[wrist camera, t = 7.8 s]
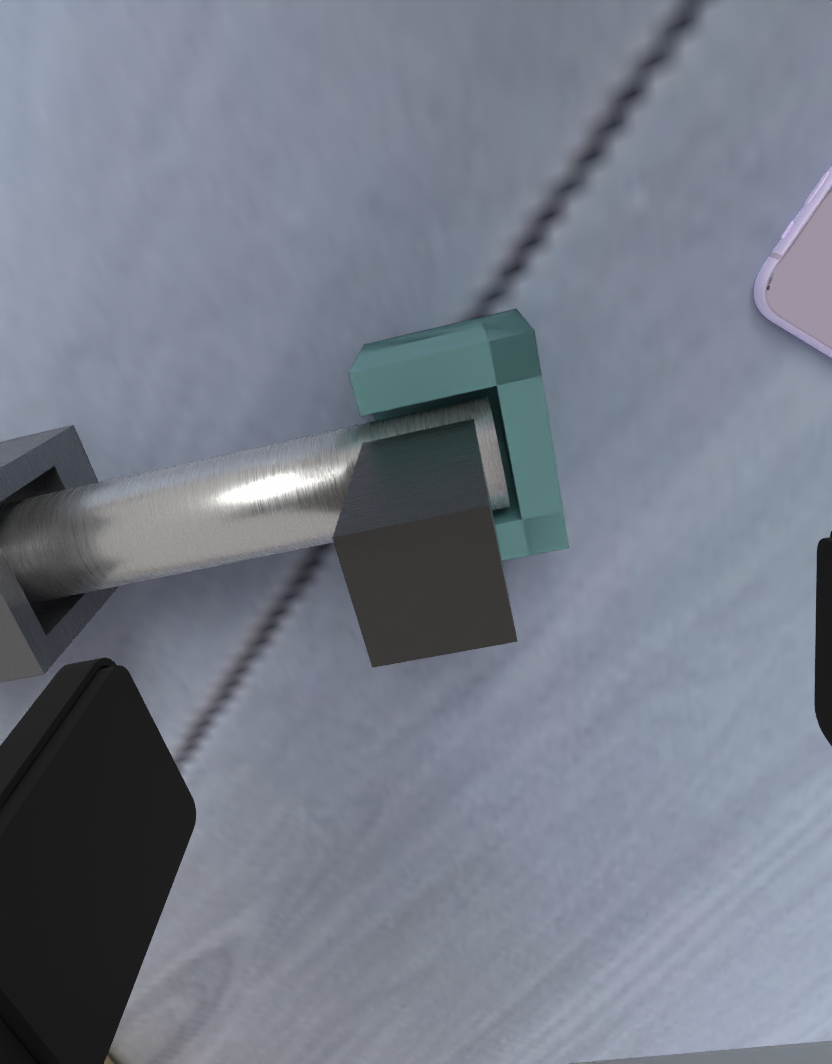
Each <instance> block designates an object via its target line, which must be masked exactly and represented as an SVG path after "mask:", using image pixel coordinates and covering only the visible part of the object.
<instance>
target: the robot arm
mask: <svg viewBox="0 0 832 1064" xmlns="http://www.w3.org/2000/svg"><path fill="white" fill-rule="evenodd" d="M815 713H816V717H817V720H818V723H819V726H820V728H821V730H822V732H823V734H824V736H825V737H826V739H827V740H828V742H829V743H830V745H831V746H832V531H831V534H830V537H829V538H823V539H821V540H820V541H819V543H818V547H817V582H816V644H815ZM195 821H196V808H195V803H194V800H193V798H192V796H191V794H190V792H189V790H188V788H187V786H186V784H185V782H184V780H183V778H182V776H181V774H180V772H179V770H178V768H177V766H176V764H175V762H174V760H173V758H172V756H171V754H170V752H169V750H168V748H167V746H166V744H165V742H164V740H163V738H162V736H161V734H160V732H159V730H158V728H157V726H156V724H155V722H154V720H153V719H152V717H151V715H150V713H149V711H148V709H147V707H146V705H145V703H144V701H143V699H142V697H141V695H140V693H139V691H138V689H137V687H136V685H135V683H134V681H133V679H132V677H131V675H130V673H129V672H128V670H127V669H126V668H125V667H123V666H119V665H118V666H117V665H116V664H115V662H113V661H112V660H111V659H108V658H100V659H95V660H89V661H84V662H78V663H73V664H68V665H65V666H64V667H62V668H61V669H60V670H59V671H58V673H57V674H56V675H55V677H54V678H53V679H52V680H51V682H50V683H49V684H48V686H47V687H46V688H45V689H44V691H43V692H42V693H41V695H40V696H39V697H38V698H37V700H36V701H35V702H34V703H33V705H32V706H31V707H30V709H29V710H28V711H27V712H26V714H25V715H24V716H23V718H22V719H21V720H20V721H19V723H18V724H17V725H16V727H15V728H14V729H13V730H12V732H11V733H10V734H9V736H8V737H7V738H6V739H5V741H4V742H3V743H2V745H1V746H0V1064H104V1062H105V1060H106V1057H107V1054H108V1052H109V1049H110V1046H111V1044H112V1041H113V1039H114V1036H115V1033H116V1031H117V1028H118V1026H119V1023H120V1020H121V1018H122V1015H123V1012H124V1010H125V1007H126V1005H127V1002H128V999H129V997H130V994H131V991H132V989H133V986H134V984H135V981H136V978H137V976H138V973H139V971H140V968H141V965H142V963H143V960H144V957H145V955H146V952H147V950H148V947H149V944H150V942H151V939H152V937H153V934H154V931H155V929H156V926H157V923H158V921H159V918H160V916H161V913H162V910H163V908H164V905H165V903H166V900H167V897H168V895H169V892H170V889H171V887H172V884H173V882H174V879H175V876H176V874H177V871H178V868H179V866H180V863H181V861H182V858H183V855H184V853H185V850H186V848H187V845H188V842H189V840H190V837H191V834H192V832H193V829H194V826H195ZM570 1064H832V1041H822V1042H811V1043H799V1044H788V1045H776V1046H765V1047H753V1048H742V1049H730V1050H719V1051H707V1052H696V1053H684V1054H673V1055H661V1056H650V1057H638V1058H627V1059H615V1060H604V1061H593V1062H581V1063H570Z"/></svg>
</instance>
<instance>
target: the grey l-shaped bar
mask: <svg viewBox="0 0 832 1064" xmlns="http://www.w3.org/2000/svg"><path fill="white" fill-rule="evenodd" d="M506 507H510V504H509V497H508V492H507V486H506V481H505V475H504V470H503V465H502V460H501V455H500V450H499V445H498V440H497V435H496V430H495V425H494V421H493V416H492V411H491V407H490V403H489V399H488V396H486V397H482V398H477V399H473V400H468V401H464V402H459V403H455V404H450V405H446V406H441V407H437V408H432V409H428V410H423V411H419V412H414V413H410V414H405V415H401V416H396V417H392V418H387V419H383V420H378V421H374V422H369V423H365V424H360V425H356V426H351V427H346V428H342V429H337V430H333V431H328V432H324V433H319V434H315V435H310V436H306V437H301V438H297V439H292V440H288V441H283V442H279V443H274V444H270V445H265V446H261V447H256V448H252V449H247V450H243V451H238V452H234V453H229V454H225V455H220V456H216V457H211V458H207V459H202V460H198V461H193V462H189V463H184V464H180V465H175V466H171V467H166V468H162V469H157V470H153V471H148V472H144V473H139V474H135V475H130V476H125V477H121V478H116V479H112V480H107V481H103V482H98V483H94V484H89V485H85V486H80V487H76V488H71V489H67V490H62V491H58V492H53V493H49V494H44V495H40V496H35V497H31V498H26V499H22V500H17V501H13V502H8V503H4V504H0V548H1V550H2V552H3V554H4V556H5V558H6V560H7V562H8V564H9V565H10V567H11V569H12V571H13V573H14V575H15V577H16V579H17V581H18V583H19V585H20V587H21V589H22V590H23V592H24V594H25V596H26V598H27V600H28V602H29V604H32V603H37V602H42V601H47V600H52V599H57V598H61V597H66V596H71V595H76V594H81V593H86V592H91V591H96V590H101V589H106V588H111V587H116V586H121V585H126V584H131V583H135V582H140V581H145V580H150V579H155V578H160V577H165V576H170V575H175V574H180V573H185V572H190V571H195V570H200V569H205V568H210V567H214V566H219V565H224V564H229V563H234V562H239V561H244V560H249V559H254V558H259V557H264V556H269V555H274V554H279V553H284V552H289V551H293V550H298V549H303V548H308V547H313V546H318V545H323V544H328V543H333V542H334V544H335V548H336V551H337V554H338V557H339V561H340V564H341V567H342V570H343V574H344V577H345V580H346V583H347V587H348V590H349V593H350V596H351V600H352V603H353V606H354V609H355V613H356V616H357V619H358V622H359V626H360V629H361V632H362V635H363V638H364V642H365V645H366V648H367V651H368V655H369V658H370V661H371V664H372V667H378V666H383V665H389V664H395V663H400V662H406V661H411V660H417V659H422V658H428V657H433V656H439V655H445V654H450V653H456V652H461V651H467V650H472V649H478V648H483V647H489V646H495V645H500V644H506V643H511V642H517V637H516V631H515V626H514V621H513V616H512V610H511V605H510V600H509V594H508V589H507V584H506V579H505V573H504V568H503V563H502V557H501V552H500V547H499V542H498V536H497V531H496V526H495V521H494V516H493V511H492V510H496V509H501V508H506Z"/></svg>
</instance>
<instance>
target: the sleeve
mask: <svg viewBox="0 0 832 1064" xmlns="http://www.w3.org/2000/svg"><path fill="white" fill-rule="evenodd" d="M94 483H98V481H97V478H96V476H95V474H94V471H93V469H92V467H91V465H90V462H89V460H88V458H87V456H86V453H85V451H84V449H83V447H82V444H81V442H80V440H79V437H78V435H77V433H76V431H75V428H74V426H73V425H72V426H68V427H63V428H59V429H55V430H51V431H46V432H42V433H38V434H33V435H29V436H25V437H21V438H16V439H12V440H8V441H3V442H0V504H4V503H8V502H13V501H17V500H22V499H26V498H31V497H35V496H40V495H44V494H49V493H53V492H58V491H62V490H67V489H71V488H76V487H80V486H85V485H89V484H94ZM118 587H119V586H116V587H111V588H106V589H101V590H96V591H91V592H86V593H81V594H76V595H71V596H66V597H61V598H57V599H52V600H47V601H42V602H37V603H32V604H29V602H28V600H27V598H26V596H25V594H24V592H23V590H22V589H21V587H20V585H19V583H18V581H17V579H16V577H15V575H14V573H13V571H12V569H11V567H10V565H9V564H8V562H7V560H6V558H5V556H4V554H3V552H2V550H1V548H0V682H6V681H11V680H16V679H22V678H27V677H32V676H37V675H43V674H45V673H46V672H47V670H48V669H49V668H50V667H51V666H52V665H53V663H54V662H55V661H56V660H57V659H58V657H59V656H60V655H61V654H62V653H63V652H64V650H65V649H66V648H67V647H68V646H69V644H70V643H71V642H72V641H73V640H74V639H75V637H76V636H77V635H78V634H79V633H80V632H81V630H82V629H83V628H84V627H85V626H86V624H87V623H88V622H89V621H90V620H91V619H92V617H93V616H94V615H95V614H96V613H97V611H98V610H99V609H100V608H101V607H102V606H103V604H104V603H105V602H106V601H107V600H108V598H109V597H110V596H111V595H112V594H113V593H114V591H115V590H116V589H117V588H118Z"/></svg>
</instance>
